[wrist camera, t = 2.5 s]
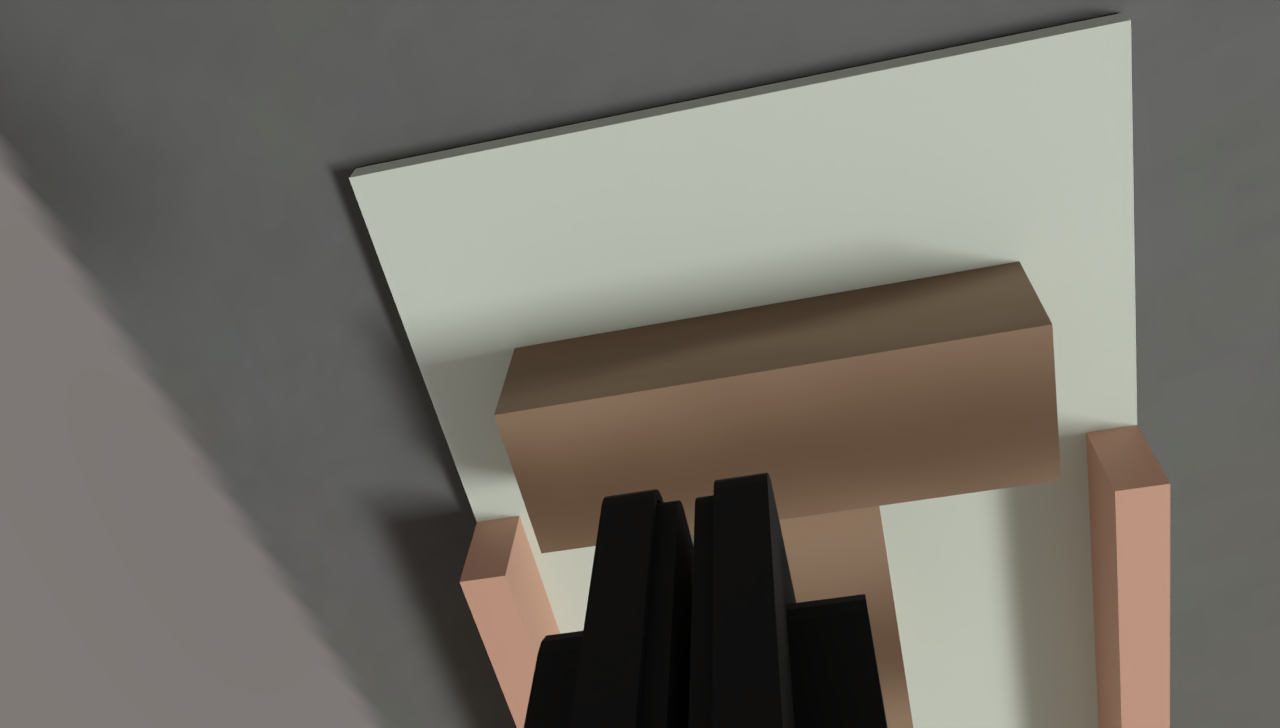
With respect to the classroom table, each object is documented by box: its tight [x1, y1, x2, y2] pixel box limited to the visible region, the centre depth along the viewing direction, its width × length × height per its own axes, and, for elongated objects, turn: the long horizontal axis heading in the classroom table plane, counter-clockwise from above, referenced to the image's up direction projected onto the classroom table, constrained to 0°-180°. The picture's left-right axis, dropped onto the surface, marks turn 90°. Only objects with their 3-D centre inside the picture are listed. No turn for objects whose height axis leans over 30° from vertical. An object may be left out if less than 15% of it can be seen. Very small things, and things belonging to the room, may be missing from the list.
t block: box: [494, 261, 1061, 728], centre depth 29 cm, size 12×12×3 cm
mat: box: [349, 13, 1137, 728], centre depth 32 cm, size 28×17×1 cm, turn 13°
